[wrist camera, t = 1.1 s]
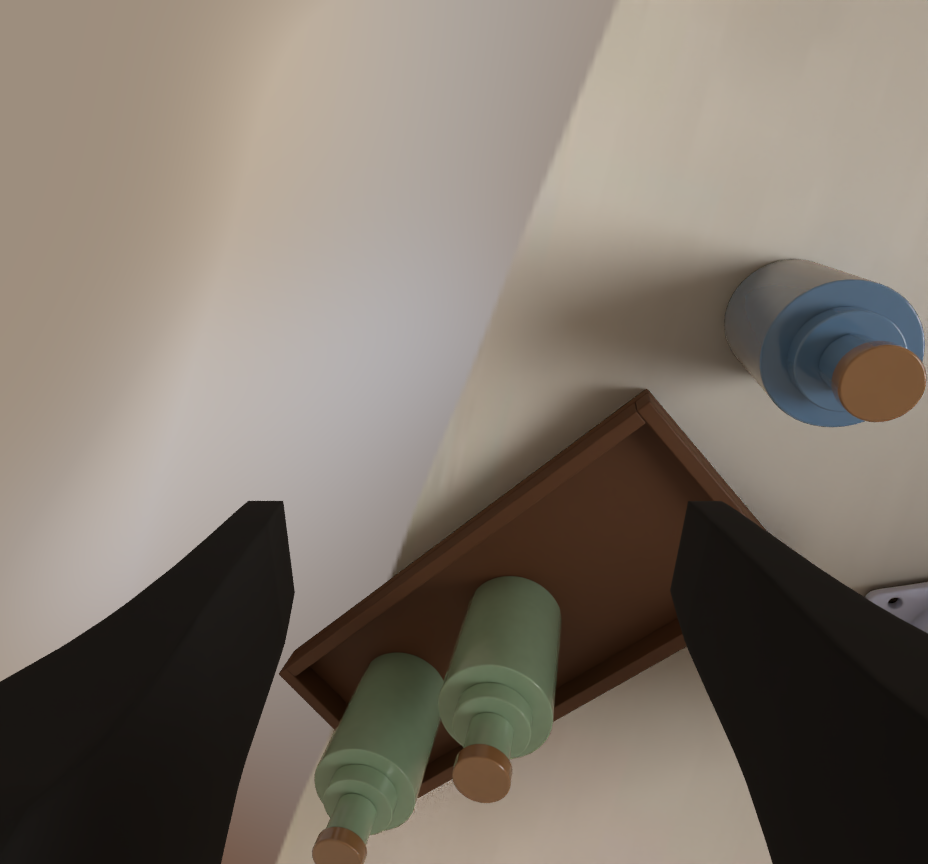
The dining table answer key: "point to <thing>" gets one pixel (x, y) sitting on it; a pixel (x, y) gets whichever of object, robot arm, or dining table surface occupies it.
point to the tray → (542, 571)
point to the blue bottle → (827, 343)
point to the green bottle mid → (501, 683)
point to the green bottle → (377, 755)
